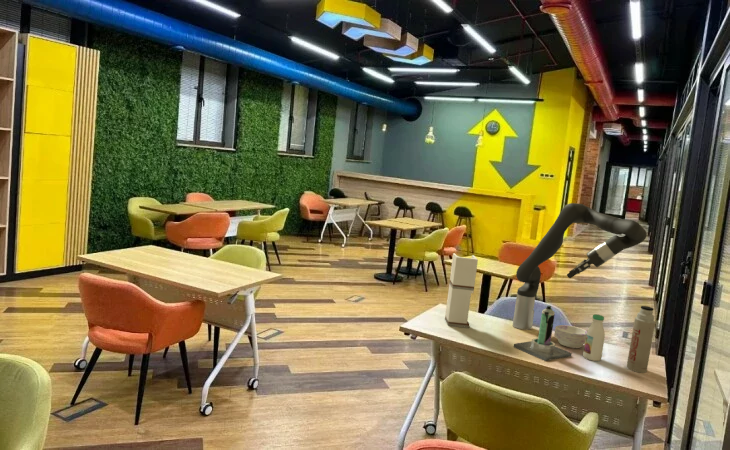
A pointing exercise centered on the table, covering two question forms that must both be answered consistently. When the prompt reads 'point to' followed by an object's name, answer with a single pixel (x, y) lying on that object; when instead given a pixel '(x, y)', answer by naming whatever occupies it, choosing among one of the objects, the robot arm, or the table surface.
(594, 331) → the milk bottle
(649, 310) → the thermos bottle
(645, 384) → the table surface
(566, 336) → the paper bowls
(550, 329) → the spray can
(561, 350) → the collar plate
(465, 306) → the banded white pillar
